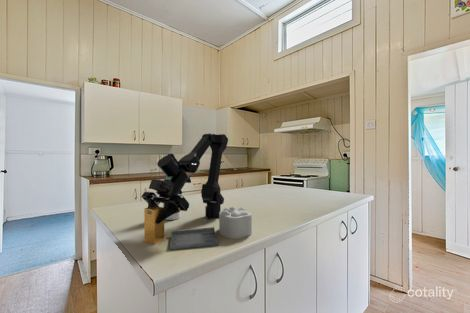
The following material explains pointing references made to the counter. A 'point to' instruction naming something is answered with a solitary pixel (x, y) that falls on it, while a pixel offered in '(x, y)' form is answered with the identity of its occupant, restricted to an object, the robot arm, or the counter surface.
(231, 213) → the lumpy-topped squat cylinder
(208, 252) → the counter surface
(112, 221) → the counter surface
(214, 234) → the dark grey tray
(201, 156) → the robot arm
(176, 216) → the milk bottle
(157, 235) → the block
